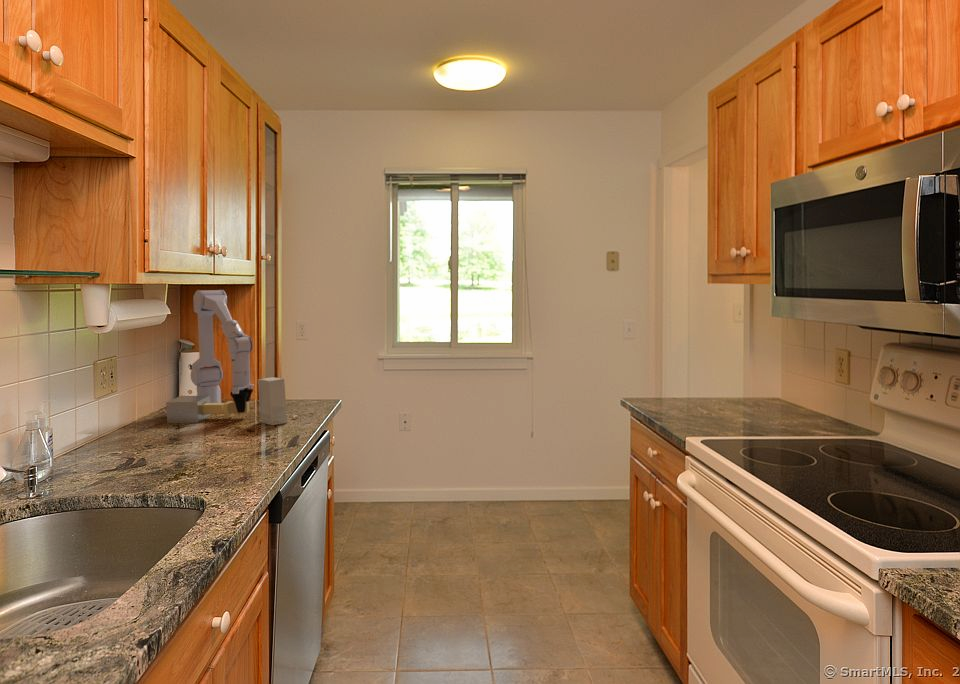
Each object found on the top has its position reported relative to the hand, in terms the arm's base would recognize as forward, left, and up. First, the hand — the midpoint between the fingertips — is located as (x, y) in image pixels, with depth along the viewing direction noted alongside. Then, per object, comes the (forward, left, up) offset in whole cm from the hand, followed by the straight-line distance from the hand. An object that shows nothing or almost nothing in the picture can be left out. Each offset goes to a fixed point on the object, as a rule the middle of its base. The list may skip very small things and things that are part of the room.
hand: (242, 411), depth 224 cm
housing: (0, -18, -2) cm, 18 cm away
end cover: (0, -6, -2) cm, 6 cm away
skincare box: (+8, +12, -3) cm, 15 cm away
